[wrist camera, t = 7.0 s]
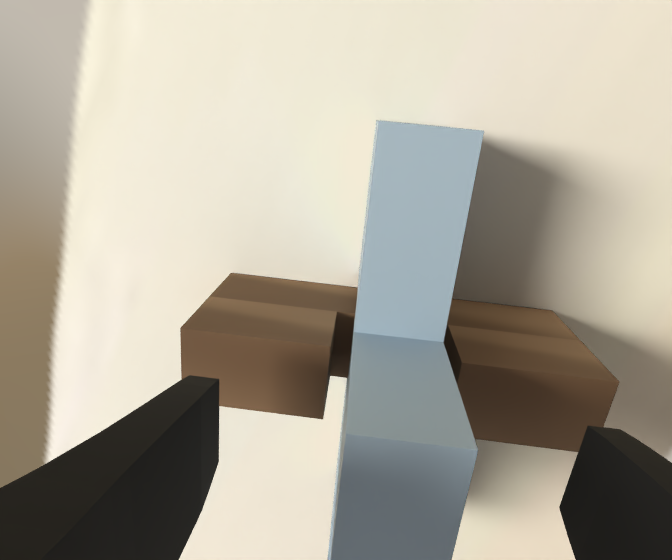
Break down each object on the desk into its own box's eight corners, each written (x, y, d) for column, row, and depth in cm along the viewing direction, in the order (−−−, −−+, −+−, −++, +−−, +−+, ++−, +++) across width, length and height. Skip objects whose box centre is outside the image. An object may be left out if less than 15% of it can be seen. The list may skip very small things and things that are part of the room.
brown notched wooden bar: (536, 367, 15) (593, 454, 11) (229, 330, 15) (181, 401, 11) (551, 310, 14) (619, 382, 10) (231, 273, 14) (180, 328, 10)
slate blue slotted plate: (391, 474, 16) (406, 743, 9) (336, 468, 16) (311, 728, 9) (449, 127, 12) (553, 137, 5) (376, 120, 12) (383, 121, 5)
